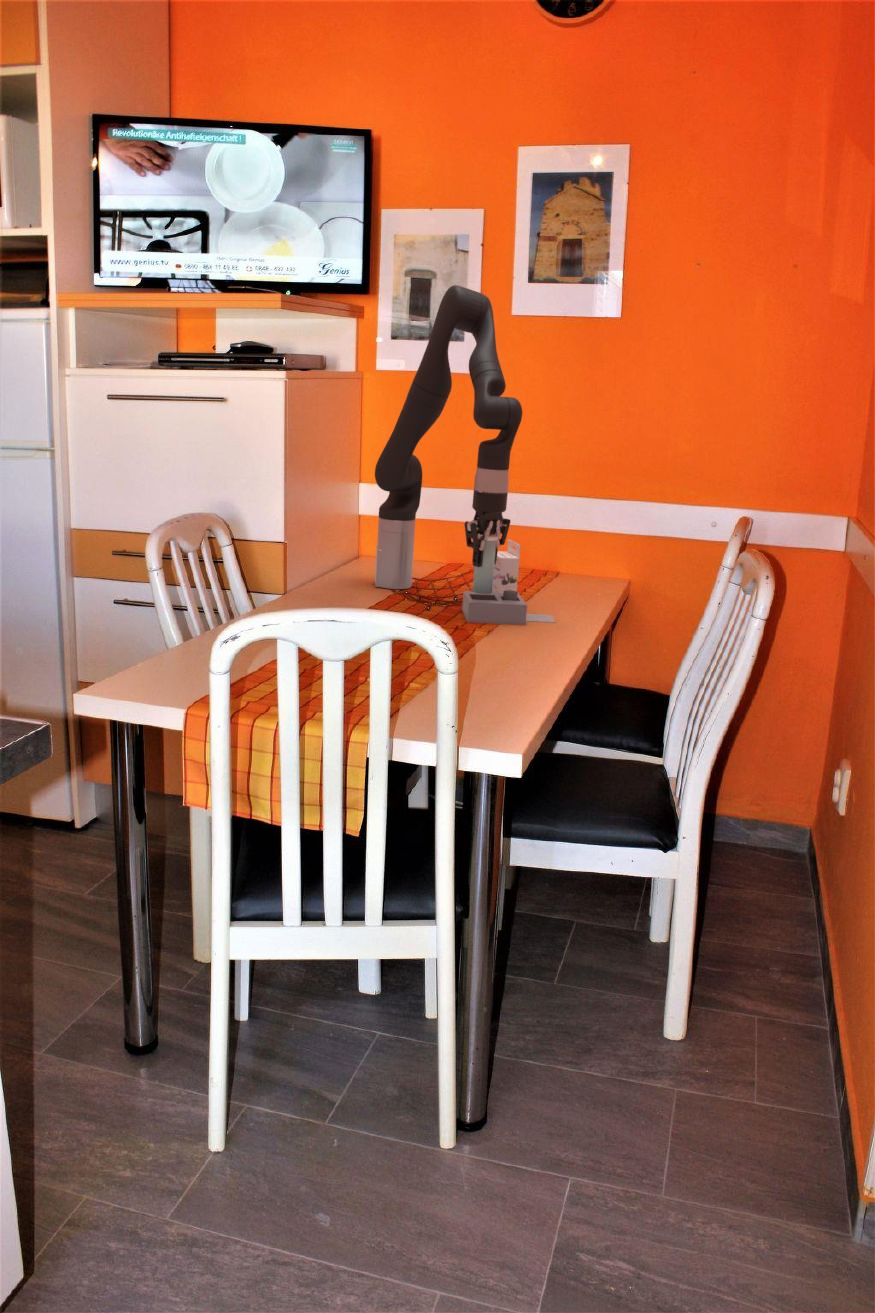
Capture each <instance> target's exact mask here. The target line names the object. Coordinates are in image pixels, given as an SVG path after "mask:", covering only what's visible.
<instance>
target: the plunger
mask: <svg viewBox="0 0 875 1313" xmlns="http://www.w3.org/2000/svg"><path fill="white" fill-rule="evenodd" d="M517 594H519V593H518V590H517V591H512V590H505V591H504V592H503V600H510V601H517Z"/></svg>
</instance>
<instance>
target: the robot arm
mask: <svg viewBox="0 0 875 1313" xmlns="http://www.w3.org/2000/svg"><path fill="white" fill-rule="evenodd" d="M494 321H495V320H494V310H493V305H492V303H491V301H490V298H489V297H488V296H487V295H486V294H484V293H482V292H479V291H476V290H473V289H470V288H467V287H464V286H462V285H456V284H455V285H451V286H450V287H449V288H448V289H447V290H446V291H445V292H444V294H443V297H442V298H441V301H440V302H439V306H438V309H437V313H436V316H435V320H434V322H433V324H432V325H433V326H432V330H431V332H430V335H429V339H428V342H427V345H426V348H425V351H424V352H423V356H422V358H421V360H420V363H419V365H418V368H417V370H416V372H415V375H414V377H413V380H412V382H411V385H410V387H409V389H408V392H407V395H406V397H405V400H404V403H403V406H402V408H401V411H400V412H399V416H398V417H397V421H396V423H395V425H394V427H393V430H392V433H391V434H390V436H389V438H388V440H387V442H386V443H385V446H384V447H383V450H382V451H381V453H380V455H379V457H378V459H377V462H376V465H375V469H374V479H375V482H376V484H377V486H378V488H380V490H383V491H384V492H388V493H389V494H388V496H387V498H386V500H384V502H383V503H382V504H381V505H380V506H379V508H378V521H377V522H378V524H377V542H376V544H377V545H376V556H375V569H374V570H375V573H374V574H375V575H374V587H376V588H383V589H387V590H388V589H389V590H390V589H392V590H405V589H410V588H412V583H413V582H412V581H413V564H414V549H415V548H414V547H415V532H416V531H415V530H416V517H417V512H418V510H419V507H420V503H421V494H422V487H423V486H422V485H423V467H422V463H421V461H420V459H419V458H418V457H417V456H416V455H414V452H415V449H416V447H417V445H418V444H419V442H420V440H422V438H423V437H424V436H425V435H426V434H427V432H429V430H430V429H431V428H432V426H434V424H435V423H436V422H437V420H438V419H439V418H440V416H441V415H442V412H443V411H444V408H445V406H446V404H447V402H448V399H449V397H450V395H451V394H450V393H451V391H452V387H453V386H452V385H453V382H452V381H453V380H452V372H451V365H450V362H449V361H450V359H449V346H450V342H451V338H452V335H453V333H454V330H455V329H456V330H459V331H462V332H465V333H470V334H471V335H472V336H473V339H474V340H475V343H476V344H475V347H474V348H473V350H472V352H471V355H470V357H469V359H468V372H469V375H470V380H471V384H472V387H473V394H474V395H473V396H474V398H473V399H474V400H473V402H474V403H473V411H472V413H473V414H472V416H473V420H474V422H475V424H476V425H477V426H478V427H479V428H481V429H483V430H484V429H485V430H499V432H498V435H497V436H496V437H495V438H492V439H486V440H483V441H481V442H480V443H479V445H478V450H477V451H478V452H477V462H476V463H477V464H476V472H475V475H474V482H473V483H474V485H473V486H474V487H473V494H472V495H473V496H472V509H473V510H474V511H475V513H474V517H473V519H472V520H470V521H467V520H466V521H465V522H464V532H465V542H466V547H468V548H470V549H472V560H471V561H472V566H473V567H474V566H476V567H481V566H482V561H483V551H482V550H483V548H484V544H485V541H487V540H488V536H489V535H495V536H497V540H496V549H495V562H494V565H495V564H496V560H497V552H499V551H498V549H500V546H503V545H505V544H506V539H507V536H508V532H509V530H510V525H511V519H509V518H505V517H504V516H503V513H505V512H506V510H507V507H508V506H507V502H508V495H509V494H508V493H509V492H508V491H509V483H510V482H509V481H510V478H509V476H510V475H509V474H510V471H509V469H510V462H511V451H512V448H513V445H514V442H515V438H516V437H517V433H518V430H519V428H520V426H521V422H522V419H523V408H522V404H521V402H520V401H519V400H518V398H516V397H511V396H502V395H503V394H504V393H505V390H506V386H507V385H506V381H505V376H504V374H503V370H502V367H501V364H500V360H499V356H498V350H497V344H496V343H497V341H496V329H495V322H494ZM478 534H480V535H483V536H479V535H478ZM478 539H480V544H478Z"/></svg>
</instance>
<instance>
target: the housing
mask: <svg viewBox="0 0 875 1313" xmlns="http://www.w3.org/2000/svg"><path fill="white" fill-rule="evenodd" d="M527 609H528V603H526V601H525V600H524V598H523V597H522V596H521V594H520V593H518V594H517V601H510V600H503V593H495V592H492V593H491V594H479V593H475V592H473V590H472V591H471V590H464V591H463V593H462V607H461V610H462V613H463V615H464V617H465V620H466V622H467V623H471V624H472V623H475V624H498V625H499V624H500V625H515V626H516V625H517V626H518V625H519V626H526V625H527V621H526V614H528V613H527V612H528V611H527Z"/></svg>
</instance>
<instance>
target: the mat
mask: <svg viewBox="0 0 875 1313" xmlns="http://www.w3.org/2000/svg"><path fill="white" fill-rule="evenodd" d="M529 622H531V623H549V624H550V623H553V624H555V623H556V620H555V619H554V618H553V616H552V615H550V614H536V613H535V614H534V613H533V614H532V613H526V623H529Z"/></svg>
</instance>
